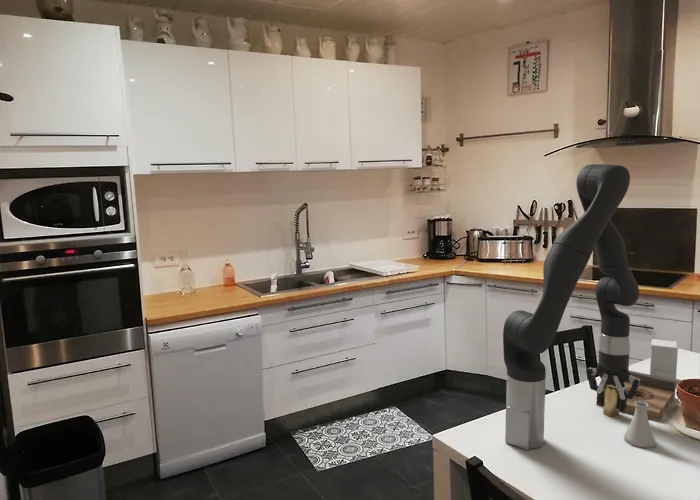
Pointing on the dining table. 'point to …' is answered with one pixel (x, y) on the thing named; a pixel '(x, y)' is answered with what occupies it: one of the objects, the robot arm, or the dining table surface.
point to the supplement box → (663, 359)
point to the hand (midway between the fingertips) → (611, 407)
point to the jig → (651, 394)
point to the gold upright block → (611, 401)
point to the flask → (640, 428)
